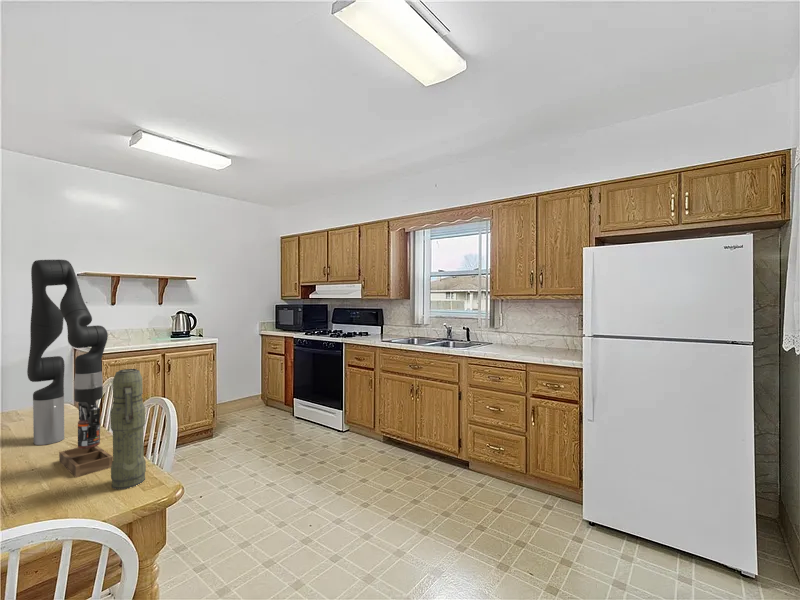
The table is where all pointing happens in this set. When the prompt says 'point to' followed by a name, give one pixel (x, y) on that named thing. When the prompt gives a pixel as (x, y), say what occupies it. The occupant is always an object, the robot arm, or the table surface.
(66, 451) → the wooden divided tray
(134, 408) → the thermos
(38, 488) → the table surface
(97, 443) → the supplement bottle
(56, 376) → the robot arm
